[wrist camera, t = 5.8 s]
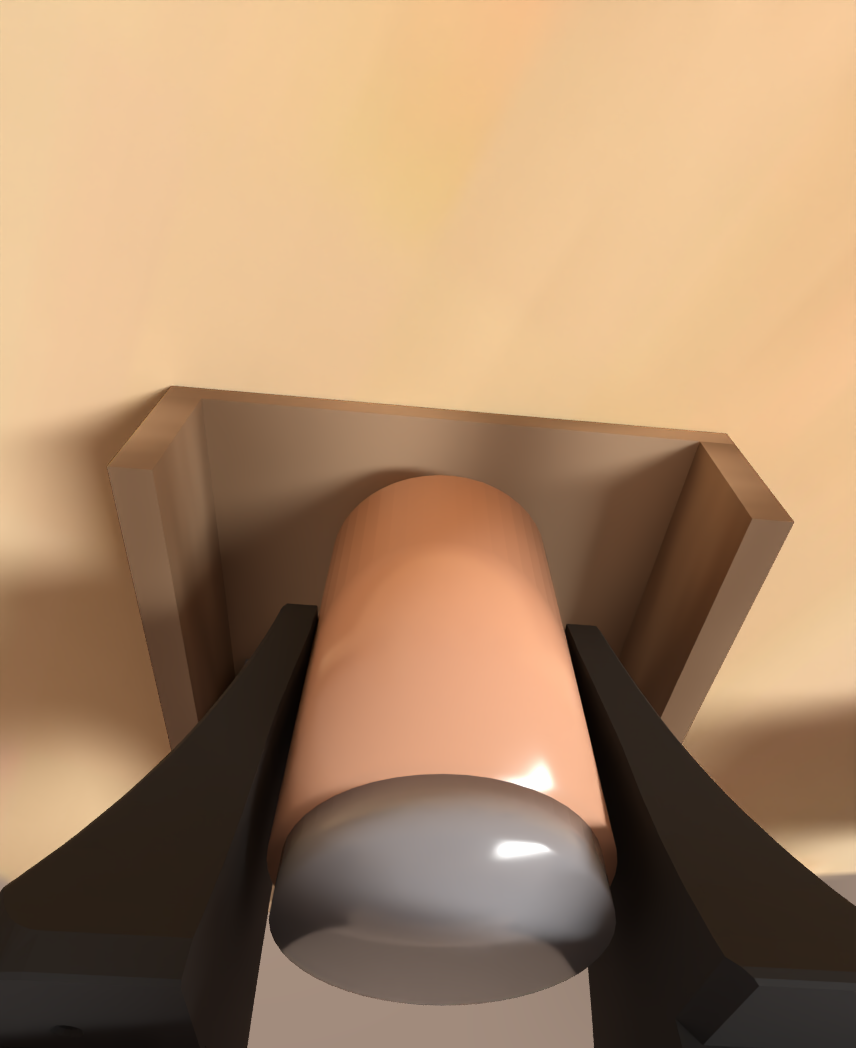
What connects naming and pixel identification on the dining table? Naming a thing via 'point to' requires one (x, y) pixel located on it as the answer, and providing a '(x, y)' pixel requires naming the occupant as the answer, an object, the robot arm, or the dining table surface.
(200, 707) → the brown wooden tray
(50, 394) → the dining table surface
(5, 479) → the dining table surface
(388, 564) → the jar
